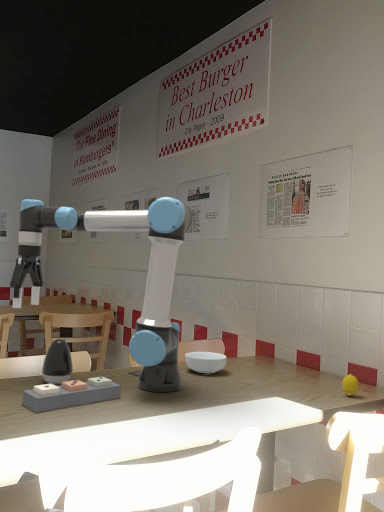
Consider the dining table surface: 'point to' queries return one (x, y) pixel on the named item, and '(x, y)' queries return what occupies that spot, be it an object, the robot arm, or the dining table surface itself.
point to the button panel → (70, 397)
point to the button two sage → (99, 382)
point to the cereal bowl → (205, 361)
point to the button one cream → (46, 389)
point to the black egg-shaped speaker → (57, 363)
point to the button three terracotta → (74, 385)
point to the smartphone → (135, 373)
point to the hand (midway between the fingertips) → (26, 306)
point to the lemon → (350, 384)
